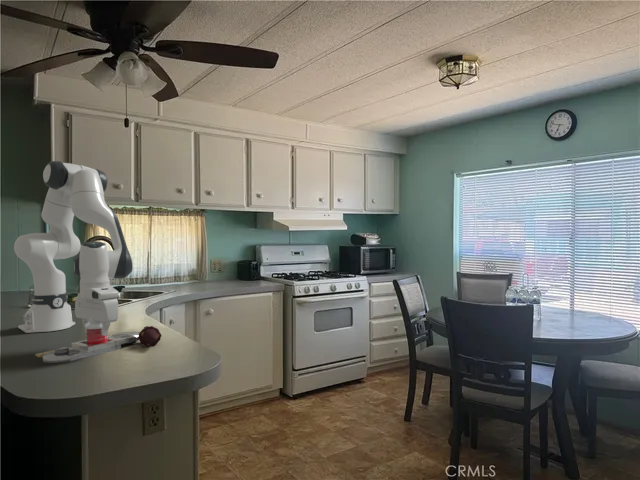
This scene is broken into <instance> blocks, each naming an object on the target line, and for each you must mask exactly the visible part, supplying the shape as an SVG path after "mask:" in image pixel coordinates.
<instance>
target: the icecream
mask: <svg viewBox="0 0 640 480" xmlns="http://www.w3.org/2000/svg"><path fill="white" fill-rule="evenodd" d="M139 332H140V333H139V336H138V338H139V340H138V341H139V344H140V345H142V346H145V347H148V348H149V347H150V346H151V347H154V346H157V344H158V343H159V342H160V341H161V338H162V334H161V332H160V330H159V328H157V327H155V326H153V325H151V326H144V327H143V328H142V329H141V331H139Z"/></svg>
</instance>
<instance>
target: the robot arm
mask: <svg viewBox="0 0 640 480" xmlns="http://www.w3.org/2000/svg"><path fill="white" fill-rule="evenodd" d="M42 177H43V178H42V179H43V184H44V185H45V186H46V187H48V191H47V193H46V196H45V199H44V202H43V203H44V204H43V207H42V211H41V213H40V216H41V218H42V221H44V223H45V224H46V225H48V226H49V230H48V232H31V233H27V234H22V235H20V236H18V237H17V238H16V240H15V242H14V246H13V251H14V254H15V255H16V256H17V258H18V259H20V260H22V261H23V262H24V263H25V264H26V265H27V266H28V268H29V270H30V272H31V275H32V280H33V289H34V291H33V292H34V294H33V295H32V299H31V301H32V303H31V304H32V305H31V306H30V307H29V308H28V310H27V311H26V312H25V313H24V314H23V315H22V321H23V322H24V323H23V324H19V325H18V327H17V328H18V330H19V329H20V330H21V331H23V332H24V333H27V334H28V333H43V332H44V333H45V332H54V331H55V332H56V331H61V330H65V329H66V330H67V329H69V328H71V327H72V326H74V325H76V322H75V321H73V316H72V308H71V305H70V304H69V303H68V297H69V296H68V293H67V284H66V283H67V281H66V278H67V277H66V274H65V273H64V271H62V270H60V269H58V268H57V267H56V265H55V263H54V260H65V259H68V258H73V259H72V260H73V265H74V266H73V269H74V271H73V272H74V273H73V275H75V276H76V277H77V278H79V292H78V293H77V296H76V297H75V303H74V305H75V306H74V315H75V317H76V318H79V319H81V320H82V321H81V322H82V324H83V327H84V332H85V333H87V331H86V328H87V325H88V324H90V322H89V318H92V320H94V321H99V322H101V323H102V325H103V326H102V330H100V335H103V336H105V335H109V328H110V326H111V323H115V322H117V321H118V319H119V301H118V297H119V290H117V289H115V287H113V286H112V285H111V281H110V279H113V280H114V279H121V280H122V279H123V280H124V279H126V278H127V277H128V276H129V275H130V274H131V273H132V272H133V269H134V264H133V258H132V256H131V253H130V250H129V248H128V245H127V242H126V239H125V235H124V232H123V229H122V225H121V222H120V220H119V217H118V215H117V214H116V211H114V210H113V209H111V208H110V207H109V205H107V203H106V200H105V191H106V190H107V186H108V176H107V174H106V173H105V172H104V171H103V170H100V169H97V168H92V167H89V166H85V165H83V164H76V163H75V164H74V163H69V162H62V161H59V160H57V161H56V160H54V161H53V160H52V161H49V162H48V163H47V164H46V165H45V168H44V169H43V173H42ZM74 217H76V218H78V220H80V221H82V222H84V223H87V224H90V225H94V226H96V227H100V228H102V229H103V230H105V231H106V232H108V235H109V236H110V240H111V243H112V247H113V250H108V247H107V244H106V243H104V242H101V241H87V242H84V243H81V241H80V239H79V237H78V236H77V235H76V234H75V232H74V229H73V224H74V223H73V222H74Z"/></svg>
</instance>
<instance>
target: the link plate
mask: <svg viewBox="0 0 640 480" xmlns="http://www.w3.org/2000/svg"><path fill="white" fill-rule="evenodd" d="M54 350H55V349H53V350H48V351H42V352H39V353H38V352H37V353H35V355H34V356H35V357H37V358H43V355H45V354H47V353H50V352H54Z"/></svg>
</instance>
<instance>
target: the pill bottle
mask: <svg viewBox="0 0 640 480" xmlns="http://www.w3.org/2000/svg"><path fill="white" fill-rule="evenodd" d="M89 322H90V324H88V325H87V328H86V331H87V332H86V340H87V345H95V344H100V343H104V342H108V335H109V334H108V335H105V336H103V335H100V330H102V326H103V325H102V323H101V322H99V321H94V320H92V318H89Z"/></svg>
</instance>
